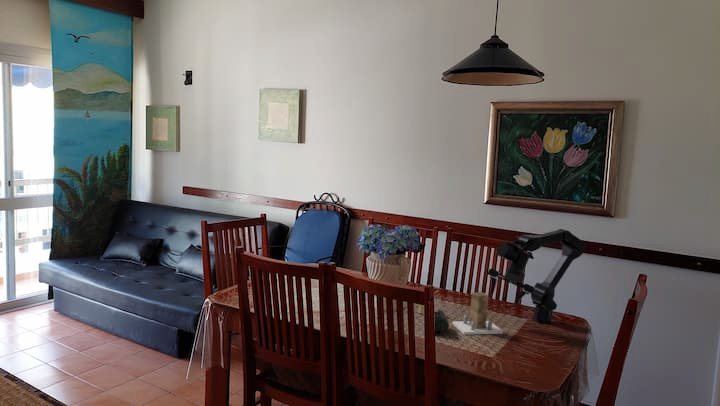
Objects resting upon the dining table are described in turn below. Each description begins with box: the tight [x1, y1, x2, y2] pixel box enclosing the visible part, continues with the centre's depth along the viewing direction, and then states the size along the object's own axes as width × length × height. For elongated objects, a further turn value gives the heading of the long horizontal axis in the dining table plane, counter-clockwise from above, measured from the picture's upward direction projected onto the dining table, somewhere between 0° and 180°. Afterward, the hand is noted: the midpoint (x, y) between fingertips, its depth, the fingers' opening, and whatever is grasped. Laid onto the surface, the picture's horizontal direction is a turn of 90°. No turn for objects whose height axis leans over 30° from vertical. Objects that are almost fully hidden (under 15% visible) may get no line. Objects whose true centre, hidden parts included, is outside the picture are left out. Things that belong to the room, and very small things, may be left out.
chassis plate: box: [452, 314, 504, 335], centre depth 197 cm, size 16×11×4 cm
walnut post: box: [468, 291, 489, 329], centre depth 196 cm, size 4×4×13 cm
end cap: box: [433, 309, 450, 336], centre depth 192 cm, size 10×7×7 cm
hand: (502, 300), depth 202 cm, fingers open, 9 cm apart
